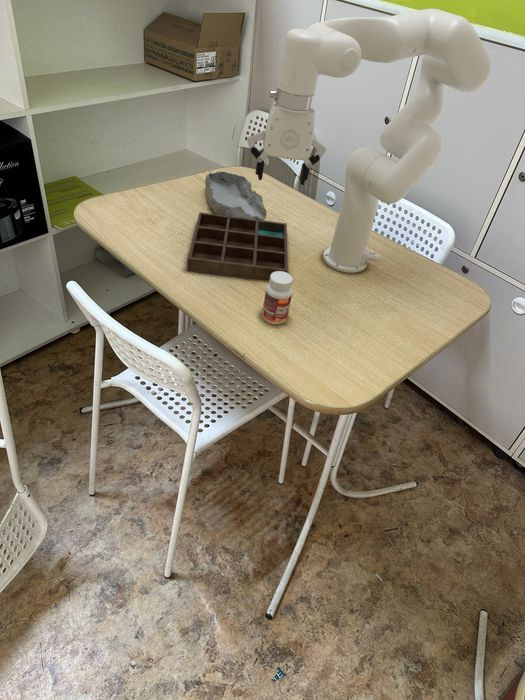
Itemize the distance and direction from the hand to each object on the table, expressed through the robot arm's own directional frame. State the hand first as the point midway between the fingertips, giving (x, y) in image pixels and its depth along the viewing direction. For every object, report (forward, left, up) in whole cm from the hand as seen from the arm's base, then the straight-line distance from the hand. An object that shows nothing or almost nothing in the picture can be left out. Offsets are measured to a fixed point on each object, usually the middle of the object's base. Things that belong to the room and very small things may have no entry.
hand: (280, 180), depth 118 cm
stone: (+12, -39, -27) cm, 49 cm away
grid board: (+7, -13, -27) cm, 31 cm away
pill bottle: (-3, +15, -27) cm, 32 cm away
